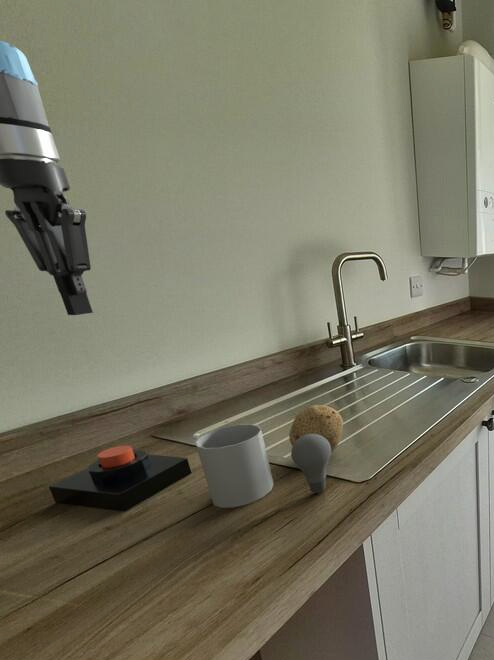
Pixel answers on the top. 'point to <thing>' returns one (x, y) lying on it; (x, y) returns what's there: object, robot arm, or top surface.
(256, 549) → the top surface
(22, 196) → the robot arm
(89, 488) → the black button base
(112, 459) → the button
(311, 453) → the light bulb
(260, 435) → the cup
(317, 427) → the natural sponge
